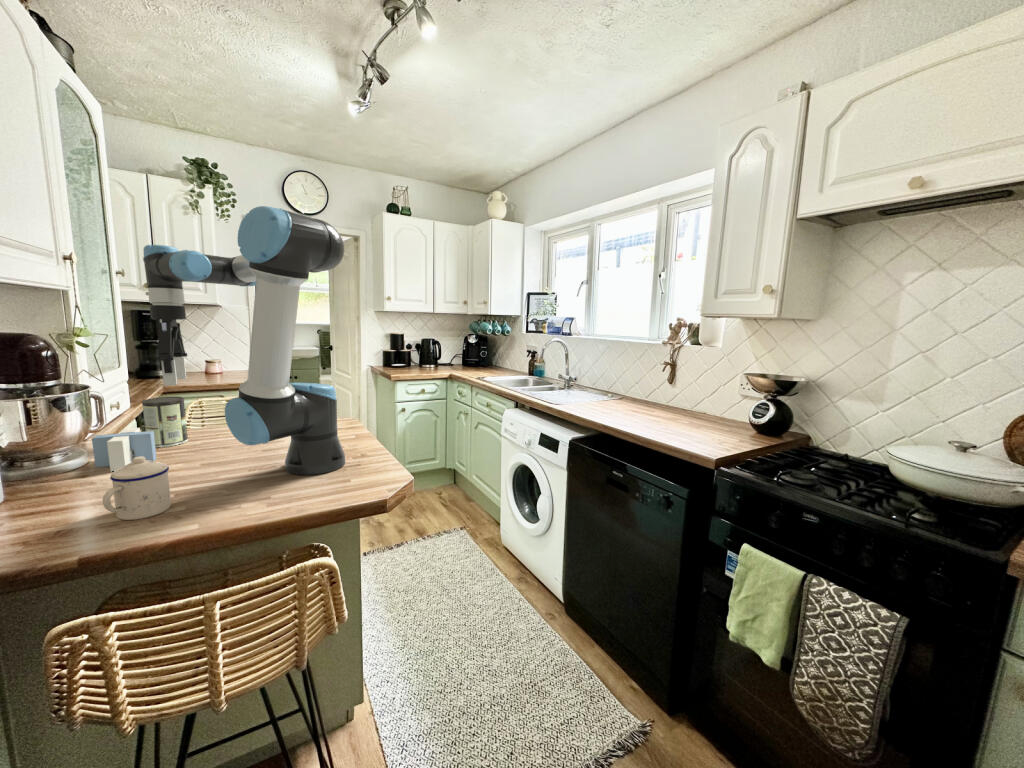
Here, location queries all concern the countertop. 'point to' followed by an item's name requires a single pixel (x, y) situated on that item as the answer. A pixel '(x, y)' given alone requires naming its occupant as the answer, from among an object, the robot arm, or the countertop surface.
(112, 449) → the white notched slab
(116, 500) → the teacup with lid
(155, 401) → the coffee can
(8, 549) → the countertop surface
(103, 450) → the light blue flat block
